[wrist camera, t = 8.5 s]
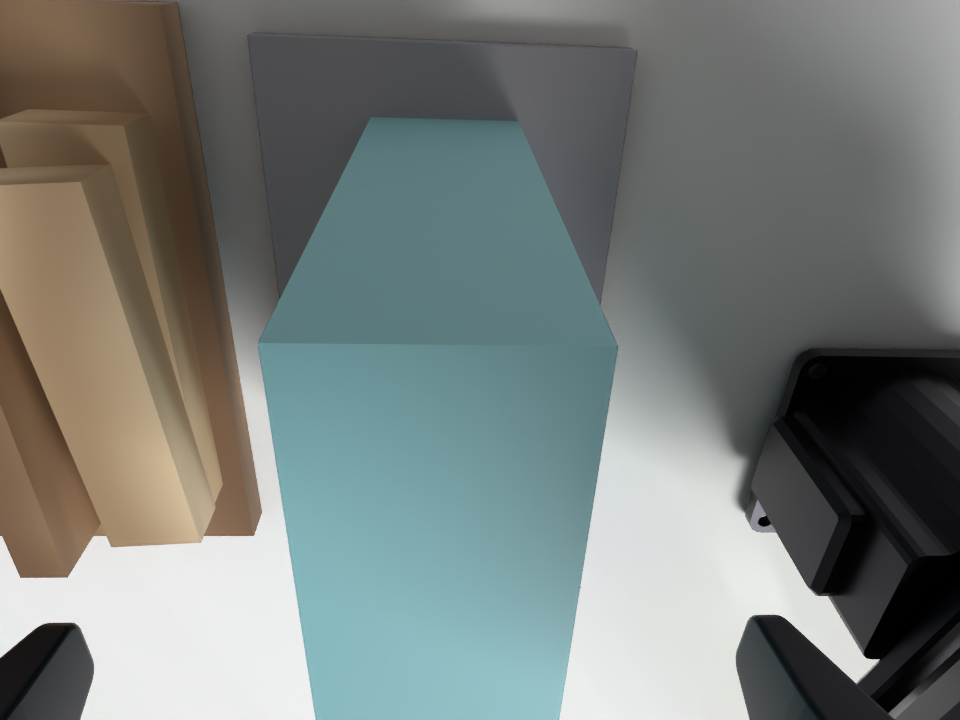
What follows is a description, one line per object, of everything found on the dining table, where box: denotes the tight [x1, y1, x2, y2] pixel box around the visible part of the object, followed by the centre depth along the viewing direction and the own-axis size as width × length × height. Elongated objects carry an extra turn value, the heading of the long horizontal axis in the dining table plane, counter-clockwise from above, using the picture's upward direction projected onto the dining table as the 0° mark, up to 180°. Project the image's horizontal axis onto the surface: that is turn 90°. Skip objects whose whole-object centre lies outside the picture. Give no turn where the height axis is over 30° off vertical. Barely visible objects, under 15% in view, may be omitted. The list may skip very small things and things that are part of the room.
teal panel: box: [258, 117, 618, 720], centre depth 13 cm, size 3×10×10 cm, turn 178°
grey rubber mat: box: [247, 33, 637, 304], centre depth 17 cm, size 8×13×1 cm, turn 178°
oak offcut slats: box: [0, 109, 223, 547], centre depth 15 cm, size 3×10×2 cm, turn 178°
